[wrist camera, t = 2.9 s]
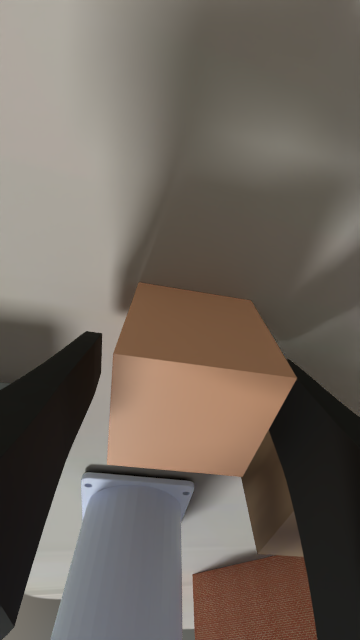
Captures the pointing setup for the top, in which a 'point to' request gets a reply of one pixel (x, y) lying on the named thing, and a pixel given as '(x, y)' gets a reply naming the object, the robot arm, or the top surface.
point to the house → (254, 601)
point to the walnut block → (270, 504)
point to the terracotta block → (193, 383)
